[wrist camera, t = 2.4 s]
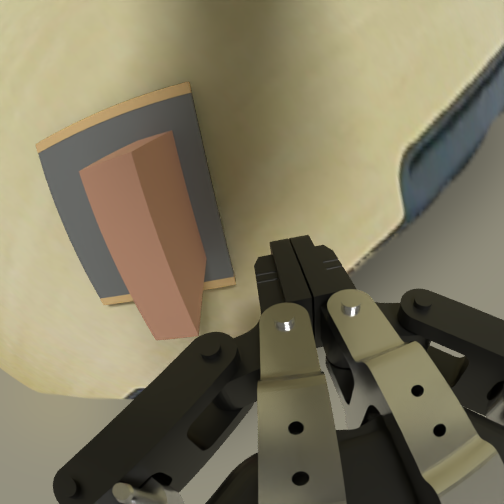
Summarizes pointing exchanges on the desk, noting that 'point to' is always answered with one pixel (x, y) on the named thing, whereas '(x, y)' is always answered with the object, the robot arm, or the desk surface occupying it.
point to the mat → (110, 140)
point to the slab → (151, 232)
